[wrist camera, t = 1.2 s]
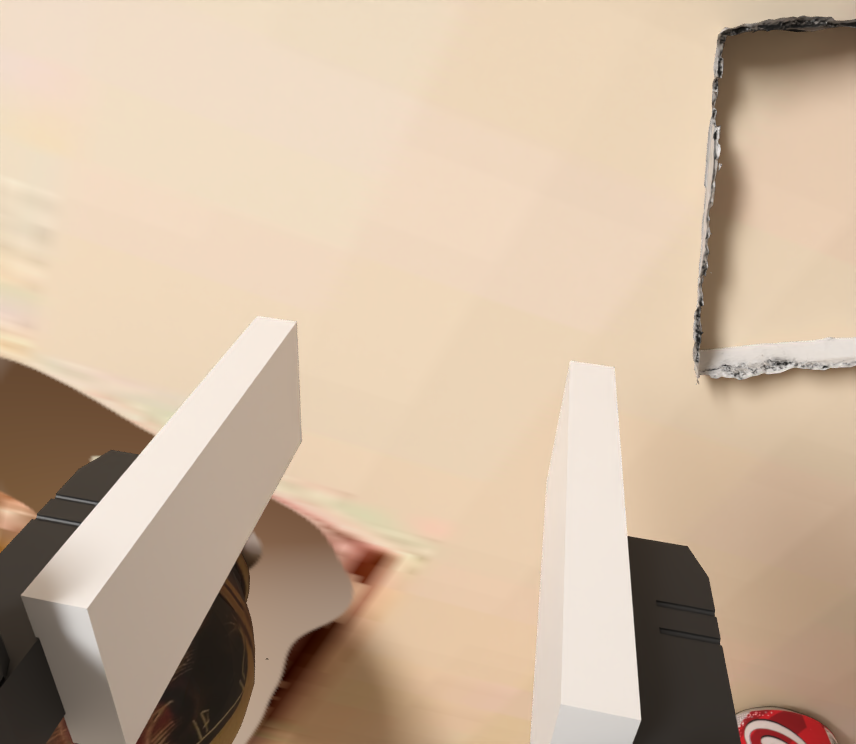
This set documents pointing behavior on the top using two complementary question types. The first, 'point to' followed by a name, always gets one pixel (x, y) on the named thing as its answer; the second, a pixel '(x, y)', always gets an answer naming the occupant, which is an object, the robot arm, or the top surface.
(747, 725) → the soda can
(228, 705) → the ceramic jug
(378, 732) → the top surface
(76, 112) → the top surface
